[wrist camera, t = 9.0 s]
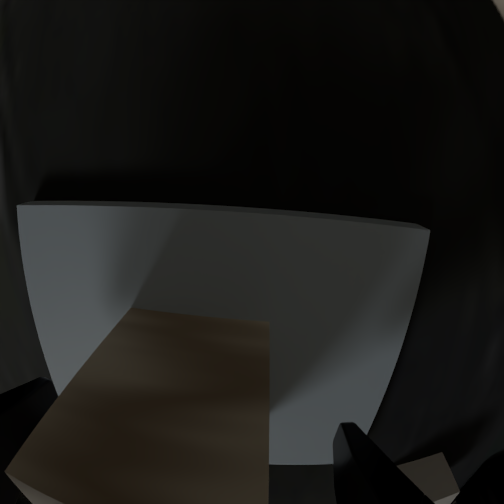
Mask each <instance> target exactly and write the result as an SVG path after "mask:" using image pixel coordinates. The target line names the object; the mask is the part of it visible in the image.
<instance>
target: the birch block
mask: <svg viewBox="0 0 504 504" xmlns="http://www.w3.org/2000/svg"><path fill="white" fill-rule="evenodd" d="M269 405H270V332H269V322H266V321H252V320H239V319H228V318H217V317H206V316H196V315H187V314H178V313H169V312H161V311H153V310H145V309H138V308H130V309H129V310H128V311H127V313H126V314H125V315H124V316H123V317H122V319H121V320H120V321H119V322H118V323H117V324H116V326H115V327H114V328H113V329H112V330H111V332H110V333H109V334H108V335H107V336H106V338H105V339H104V340H103V341H102V342H101V344H100V345H99V346H98V347H97V348H96V350H95V351H94V352H93V353H92V355H91V356H90V357H89V358H88V360H87V361H86V362H85V363H84V365H83V366H82V367H81V368H80V370H79V371H78V372H77V373H76V375H75V376H74V377H73V378H72V380H71V381H70V382H69V383H68V385H67V386H66V387H65V389H64V390H63V391H62V393H61V394H60V395H59V396H58V398H57V399H56V400H55V402H54V403H53V404H52V406H51V407H50V408H49V410H48V411H47V412H46V414H45V415H44V416H43V418H42V419H41V420H40V422H39V423H38V424H37V426H36V427H35V429H34V430H33V431H32V433H31V434H30V435H29V437H28V438H27V440H26V441H25V442H24V444H23V445H22V447H21V448H20V450H19V451H18V452H17V454H16V455H15V457H14V458H13V460H12V461H11V463H10V464H9V465H8V467H7V468H6V470H5V471H4V472H5V473H6V474H7V475H8V477H9V478H10V479H11V480H12V481H13V483H14V484H15V485H16V486H17V487H18V488H19V489H20V491H21V492H22V493H23V494H24V495H25V496H26V497H27V498H28V499H29V501H30V502H31V503H32V504H268V490H269Z"/></svg>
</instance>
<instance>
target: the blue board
mask: <svg viewBox="0 0 504 504" xmlns="http://www.w3.org/2000/svg"><path fill="white" fill-rule="evenodd" d="M17 215H18V227H19V237H20V245H21V253H22V260H23V267H24V273H25V279H26V284H27V289H28V294H29V299H30V304H31V308H32V312H33V317H34V321H35V325H36V329H37V332H38V336H39V340H40V343H41V347H42V350H43V353H44V356H45V360H46V363H47V366H48V369H49V372H50V375H51V378H52V380H53V383H54V386H55V389H56V391H57V394H58V396H59V395H60V394H61V393H62V391H63V390H64V389H65V387H66V386H67V385H68V383H69V382H70V381H71V380H72V378H73V377H74V376H75V375H76V373H77V372H78V371H79V370H80V368H81V367H82V366H83V365H84V363H85V362H86V361H87V360H88V358H89V357H90V356H91V355H92V353H93V352H94V351H95V350H96V348H97V347H98V346H99V345H100V344H101V342H102V341H103V340H104V339H105V338H106V336H107V335H108V334H109V333H110V332H111V330H112V329H113V328H114V327H115V326H116V324H117V323H118V322H119V321H120V320H121V319H122V317H123V316H124V315H125V314H126V313H127V311H128V310H129V309H130V308H138V309H145V310H153V311H161V312H169V313H178V314H187V315H196V316H206V317H217V318H228V319H239V320H252V321H266V322H269V332H270V405H269V464H278V465H315V464H333V439H334V437H335V434H336V431H337V429H338V426H339V424H340V423H342V422H354V423H356V424H357V425H358V427H359V428H360V429H361V430H362V431H363V432H364V433H365V434H366V435H367V433H368V431H369V429H370V427H371V425H372V422H373V420H374V418H375V416H376V413H377V411H378V409H379V406H380V404H381V401H382V399H383V396H384V394H385V391H386V389H387V386H388V384H389V381H390V378H391V376H392V373H393V370H394V367H395V365H396V362H397V359H398V356H399V353H400V350H401V347H402V344H403V341H404V338H405V334H406V331H407V328H408V325H409V321H410V318H411V314H412V311H413V307H414V303H415V299H416V296H417V292H418V288H419V283H420V279H421V275H422V271H423V266H424V261H425V256H426V251H427V246H428V241H429V235H430V230H429V229H427V228H425V227H422V226H420V225H418V224H415V223H407V222H399V221H391V220H382V219H373V218H364V217H355V216H345V215H335V214H324V213H314V212H302V211H290V210H278V209H265V208H250V207H235V206H219V205H201V204H180V203H155V202H122V201H31V202H27V203H23V204H20V205H17Z"/></svg>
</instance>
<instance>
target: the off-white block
mask: <svg viewBox="0 0 504 504" xmlns="http://www.w3.org/2000/svg"><path fill="white" fill-rule="evenodd" d="M397 467H398V468H399V469H400V470H401V471H402V472H403V473H404V474H405V475H406V476H407V477H408V478H409V479H410V480H411V481H412V482H413V483H414V484H415V485H416V486H417V487H418V488H419V489H420V490H421V491H422V492H423V493H424V495H426V496H427V497H428V498H429V499H430V500H432V501H433V502H434V503H435V504H451V503H452V501H453V500H454V499H455V497H456V496H457V495H458V494H459V492H460V490H459V488H458V486H457V483H456V481H455V479H454V477H453V474H452V472H451V470H450V468H449V465H448V463H447V461H446V459H445V457H444V455H443V453H442V452H440V453H438V454H435V455H432V456H428V457H425V458H422V459H419V460H415V461H412V462H408V463H405V464H401V465H397Z"/></svg>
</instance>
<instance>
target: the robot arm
mask: <svg viewBox="0 0 504 504" xmlns="http://www.w3.org/2000/svg"><path fill="white" fill-rule="evenodd" d="M57 398H58V395H57V392H56V390H55V387H54V384H53V382H52V381H51V380H50V379H47V378H44V377H39V378H37V379H35V380H32V381H30V382H28V383H25V384H23V385H21V386H18V387H16V388H14V389H11V390H9V391H7V392H4V393H2V394H0V504H16V501H17V499H18V497H19V494H20V492H21V491H20V489H19V488H18V487H17V486H16V485H15V484H14V483H13V481H12V480H11V479H10V478H9V477H8V475H7V474H6V473H5V472H4V471H5V470H6V468H7V467H8V465H9V464H10V463H11V461H12V460H13V458H14V457H15V455H16V454H17V452H18V451H19V450H20V448H21V447H22V445H23V444H24V442H25V441H26V440H27V438H28V437H29V435H30V434H31V433H32V431H33V430H34V429H35V427H36V426H37V424H38V423H39V422H40V420H41V419H42V418H43V416H44V415H45V414H46V412H47V411H48V410H49V408H50V407H51V406H52V404H53V403H54V402H55V400H56V399H57ZM333 465H334V488H335V495H336V501H337V504H435V503H434V502H433V501H432V500H430V499H429V498H428V497H427V496H426V495H424V493H423V492H422V491H421V490H420V489H419V488H418V487H417V486H416V485H415V484H414V483H413V482H412V481H411V480H410V479H409V478H408V477H407V476H406V475H405V474H404V473H403V472H402V471H401V470H400V469H399V468H398V467H397V466H396V465H395V464H394V463H393V462H392V461H391V460H390V459H389V458H388V457H387V456H386V455H385V454H384V453H383V452H382V451H381V450H380V448H379V447H378V446H377V445H376V444H375V443H374V442H373V441H372V440H371V439H370V438H369V437H368V436H367V435H366V434H365V433H364V432H363V431H362V430H361V429H360V428H359V427H358V425H357V424H356V423H354V422H342V423H340V424H339V426H338V429H337V431H336V434H335V437H334V439H333ZM451 504H504V456H502V457H499V458H497V459H494V460H492V461H489V462H487V463H486V464H484V465H483V466H482V467H481V468H480V469H479V471H478V472H477V473H476V474H475V475H474V476H473V478H472V479H471V480H470V481H469V482H468V483H467V484H466V485H465V486H464V487H463V489H462V490H461V491H460V492H459V494H458V495H457V496H456V497H455V499H454V500H453V501H452V503H451Z"/></svg>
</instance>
